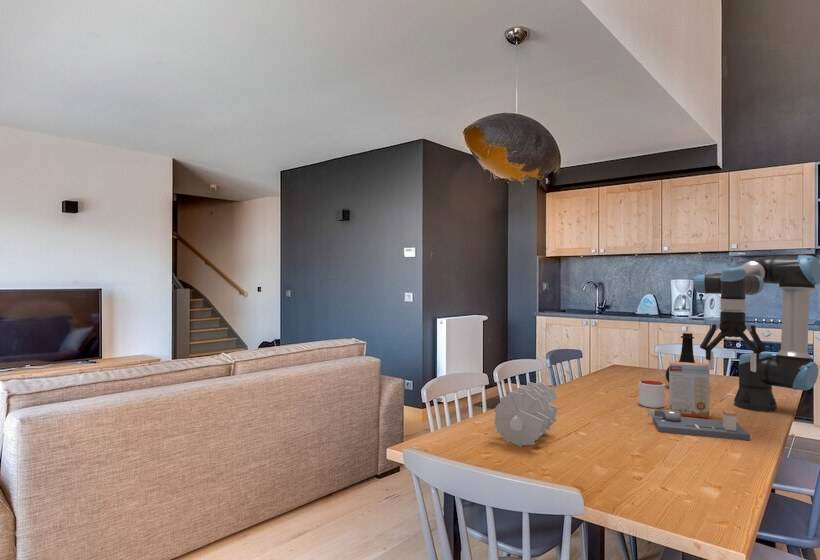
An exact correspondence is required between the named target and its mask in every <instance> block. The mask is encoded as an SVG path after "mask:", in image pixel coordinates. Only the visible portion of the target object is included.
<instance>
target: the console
mask: <svg viewBox="0 0 820 560" xmlns="http://www.w3.org/2000/svg"><path fill="white" fill-rule="evenodd" d="M651 419H652V420H653V421H652V420H651V421H652V422H653V424H654V426H655V428H656V427H657V428H656V429H658V430H657V431H658V432H659V433H664V432H667V434H675V433H678V434H677V435H685V434H687V436H696V435H698V436H699V437H707V436H709V437H708V438H717V437H718V438H719V439H728V440H729V439H730V440H741V441H751V434H750V433H749V432H748V431H747V430H745V429H744V427H742V426H741V425H740V424H739V423H738V422H736V431H731V430H726V429H725V428H724V427H723V420H718V419H717V420H716V419H708V418H696V417H692V418H691V417H685V416H681V421H678V422H675V421H668V420H665V419H663V417H659V416H651Z"/></svg>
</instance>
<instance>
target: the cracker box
mask: <svg viewBox="0 0 820 560" xmlns="http://www.w3.org/2000/svg"><path fill="white" fill-rule="evenodd" d="M668 364H669V365H668V367H669V383H668V400H669V401H668V409H673V410H678V411H680V412H681V417H690V418H691V417H692V418H699V419H710V369H708V363H698V362H697V363H696V362H695V363H687V362H679V361H669V362H668Z"/></svg>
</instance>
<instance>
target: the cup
mask: <svg viewBox="0 0 820 560" xmlns="http://www.w3.org/2000/svg"><path fill="white" fill-rule="evenodd" d="M665 390H666V383H664V382H662V381H656V380H648V379H647V380H646V379H645V380H640V381H638V391H639V392H638V403H639V405H641V406H642V407H645V408H648V409H649V408H650V409H662V408H664V407H665V404H666V403H665V402H666V391H665Z"/></svg>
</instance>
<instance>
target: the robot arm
mask: <svg viewBox="0 0 820 560" xmlns="http://www.w3.org/2000/svg"><path fill="white" fill-rule="evenodd" d="M765 284H771V285H772V284H775V285H776V284H778V289H779V290H780V291H781V292H782V310H781V311H782V314H781V315H782V316H781V338H780V350H779V351H778V352H776V354H775V357H773V356H774V355H773V353H770V352H769V353H768V352H766V351H767V350H766V348H765V345H764V344H763V342H762V340H761V338H760V337H759V334H758V333H757V331H756V330H757V328H756V326H755V324H754V325H753V324H749V325H746V312H745V311H746V295H749V296H755V295H758V294H759V293H761V292H762V291H763V289H764V288H765ZM819 284H820V262H819V259H817V258H816V257H815V256H814V255H805V254H804V255H802V254H801V255H800V254H799V255H798V254H797V255H779V256H778V255H774V256H765V257H762V258H757V259H753V260H749V261H747V262H745V263H743V264H742V265H741V266H737V267H726V268H724V267H723V268H722V269H721V271H717V272H713V273H709V274H706V273H704V274H697V275H696V276H695V278H694V280H693V287H694V290H695V292H697V293H699V294H705V295H707V294H712V295H713V294H716V295H717V294H719V295H720V310H722V311H720V312H719V320H720V321H719V324H715V323H710V325H709V330H708V331H707V333H706V335H705V337H704V338H703V340H702V342H701V343H700V345H699V348H700V349H702V350H703V351H705V360H707V361H708V363H707V364H708V369H709V371H710V370H711V371H714V353H715V352H714V351H713V349H714V348H715V347H716V346H718V344H719V343H721V341H723V339H725V338H726V337H727V338H739V339H741V340H742V341H743V342H744V343H745V345H747V346H748V348H749V349H750V350H751V351H752V352H749V353H743V354H741V355H740V356H739V358H738V359H739V360H738V376H739V377H738V389H737V392H736V394H735V397H734V399H733V405H734V406H736V407H738V408H741V409H744V410H745V409H746V410H749V411H757V412H775V411H777V410H778V404H777V402H776V399H775V396H774V393H773V386H775V387H779V388H785V389H791V390H792V389H793V390H795V391H796V390H797V391H798V390H799V391H809V390H810V389H811V390H812V388H813V387H814V386H815V384H816V382H817V379H818V376H819V365H818V364H817V363H816V362H814V361H813V356H811V355H810V354H809V352H808V350H809V349H808V348H809V322H810V300H811V299H810V297H811V296H810V295H811V293H812V292H813V291H814V290H815V289H816V288H815V287H816V285H819ZM718 330H720V332H719V333H718V334H717V336H715V338H714V339H712V338H713V336H714V335H715V333H716V331H718ZM746 330H747V332H749V335H750V336H751V338H752V340H753V342H752V341H751V340H750V339H749V337H748V336H747V334H746V333H745V332H746ZM711 340H712V341H711Z"/></svg>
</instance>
